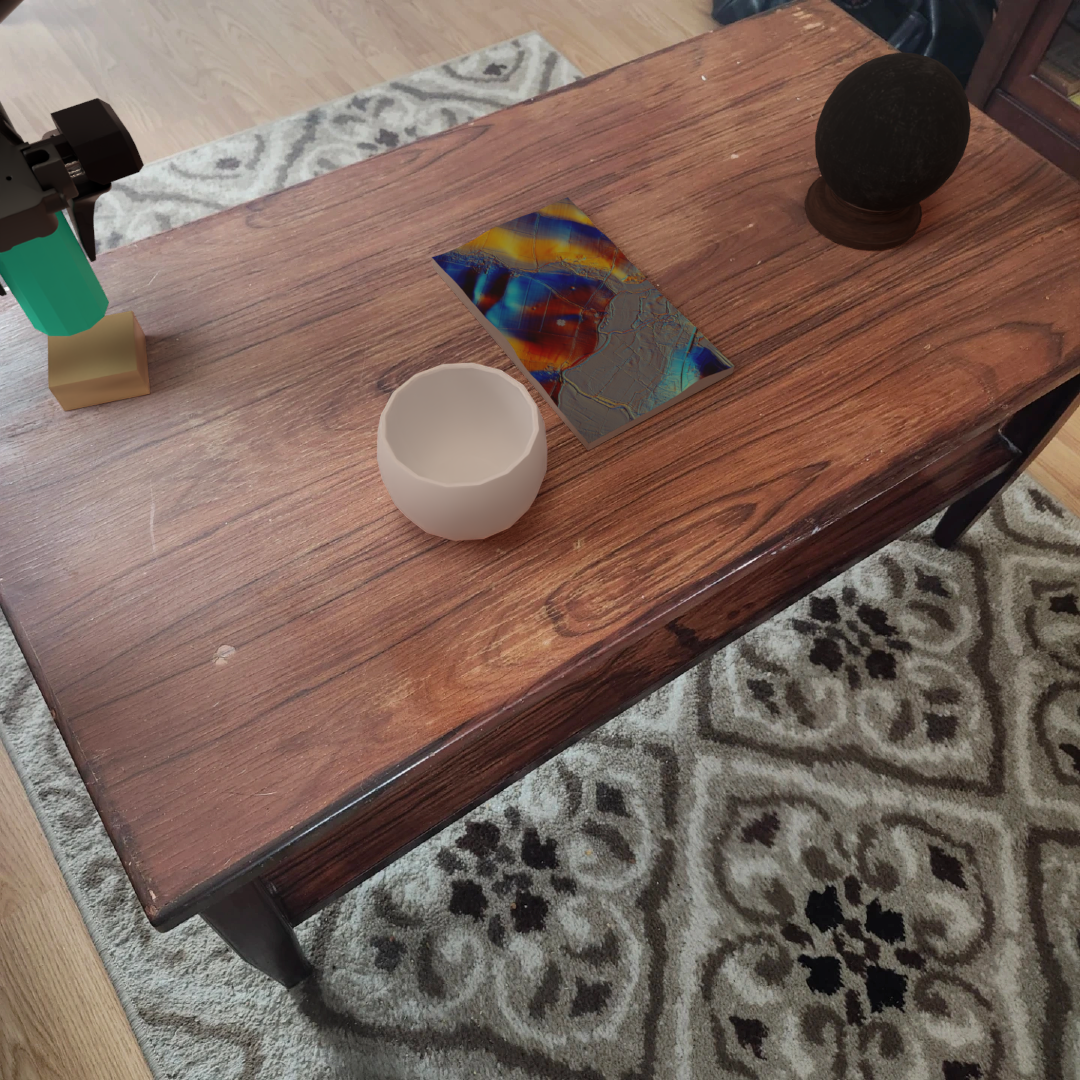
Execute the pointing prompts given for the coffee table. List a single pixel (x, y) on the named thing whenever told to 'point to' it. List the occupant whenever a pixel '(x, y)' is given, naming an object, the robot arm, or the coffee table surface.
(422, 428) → the cup
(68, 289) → the candle
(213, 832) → the coffee table surface
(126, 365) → the maple block
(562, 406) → the relief map
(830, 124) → the velvet ball on stand
